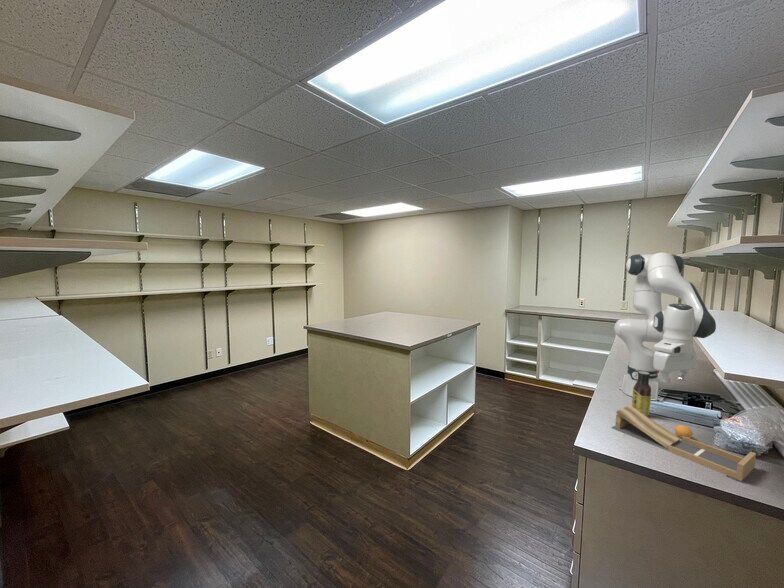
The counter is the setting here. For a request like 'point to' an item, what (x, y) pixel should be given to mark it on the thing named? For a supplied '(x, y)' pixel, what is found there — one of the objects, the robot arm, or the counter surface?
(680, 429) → the ball
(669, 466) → the counter surface
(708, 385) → the counter surface
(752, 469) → the lane
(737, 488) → the counter surface
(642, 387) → the sauce bottle
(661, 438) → the ramp
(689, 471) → the counter surface
